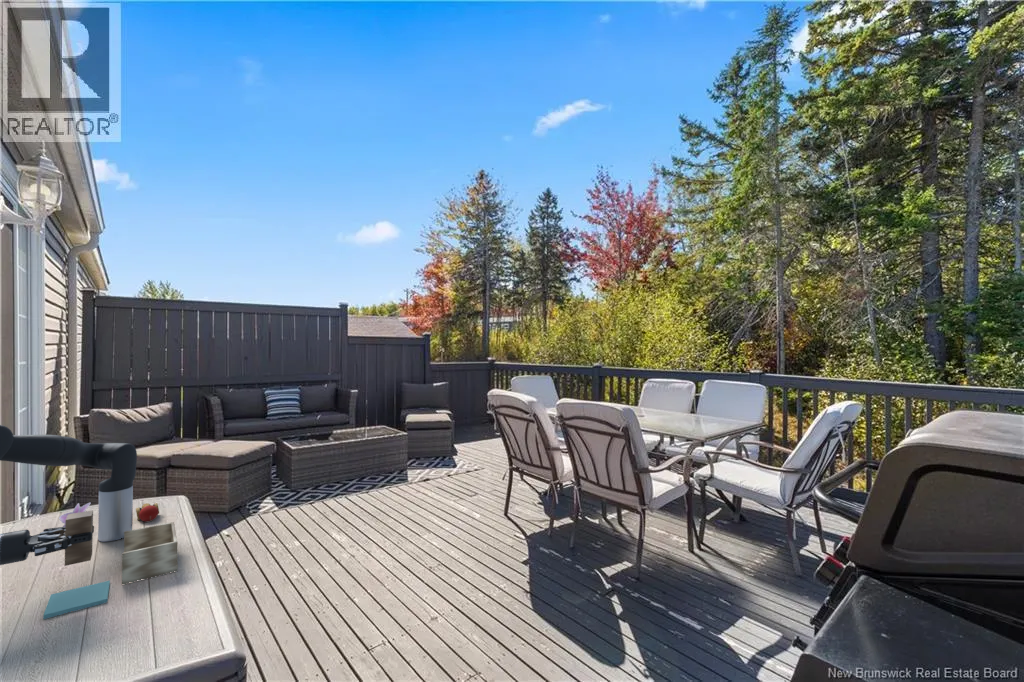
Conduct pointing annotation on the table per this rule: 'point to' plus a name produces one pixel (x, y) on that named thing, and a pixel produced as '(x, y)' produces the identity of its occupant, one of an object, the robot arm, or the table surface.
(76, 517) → the walnut block
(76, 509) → the lily
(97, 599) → the mat
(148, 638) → the table surface
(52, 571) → the table surface
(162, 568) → the crate
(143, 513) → the kendama
